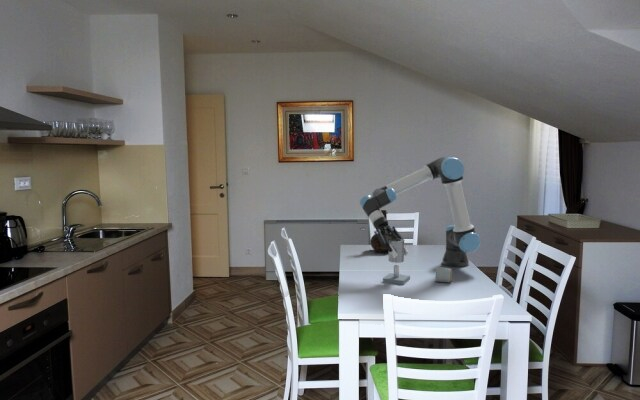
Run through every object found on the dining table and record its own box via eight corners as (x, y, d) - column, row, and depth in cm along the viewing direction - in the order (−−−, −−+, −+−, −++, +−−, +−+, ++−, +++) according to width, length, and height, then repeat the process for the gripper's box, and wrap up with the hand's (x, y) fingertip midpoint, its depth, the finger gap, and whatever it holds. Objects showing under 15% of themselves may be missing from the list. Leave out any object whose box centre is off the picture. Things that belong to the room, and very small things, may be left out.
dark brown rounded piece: (401, 253, 299) (401, 211, 296) (375, 255, 295) (376, 212, 292) (391, 248, 316) (391, 208, 314) (366, 249, 312) (366, 209, 310)
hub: (405, 260, 236) (405, 239, 235) (400, 263, 230) (401, 241, 229) (391, 258, 239) (392, 238, 238) (387, 261, 233) (387, 240, 232)
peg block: (410, 279, 238) (410, 264, 237) (403, 284, 228) (403, 269, 227) (389, 276, 243) (390, 262, 242) (382, 282, 233) (382, 266, 232)
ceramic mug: (451, 284, 228) (452, 269, 228) (435, 283, 231) (435, 268, 230) (451, 279, 239) (452, 264, 238) (435, 278, 241) (436, 263, 240)
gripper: (388, 223, 251) (410, 256, 240) (361, 226, 238) (383, 262, 227) (395, 214, 246) (418, 248, 236) (368, 217, 233) (391, 254, 223)
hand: (401, 255), depth 232 cm, fingers closed on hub, 8 cm apart
